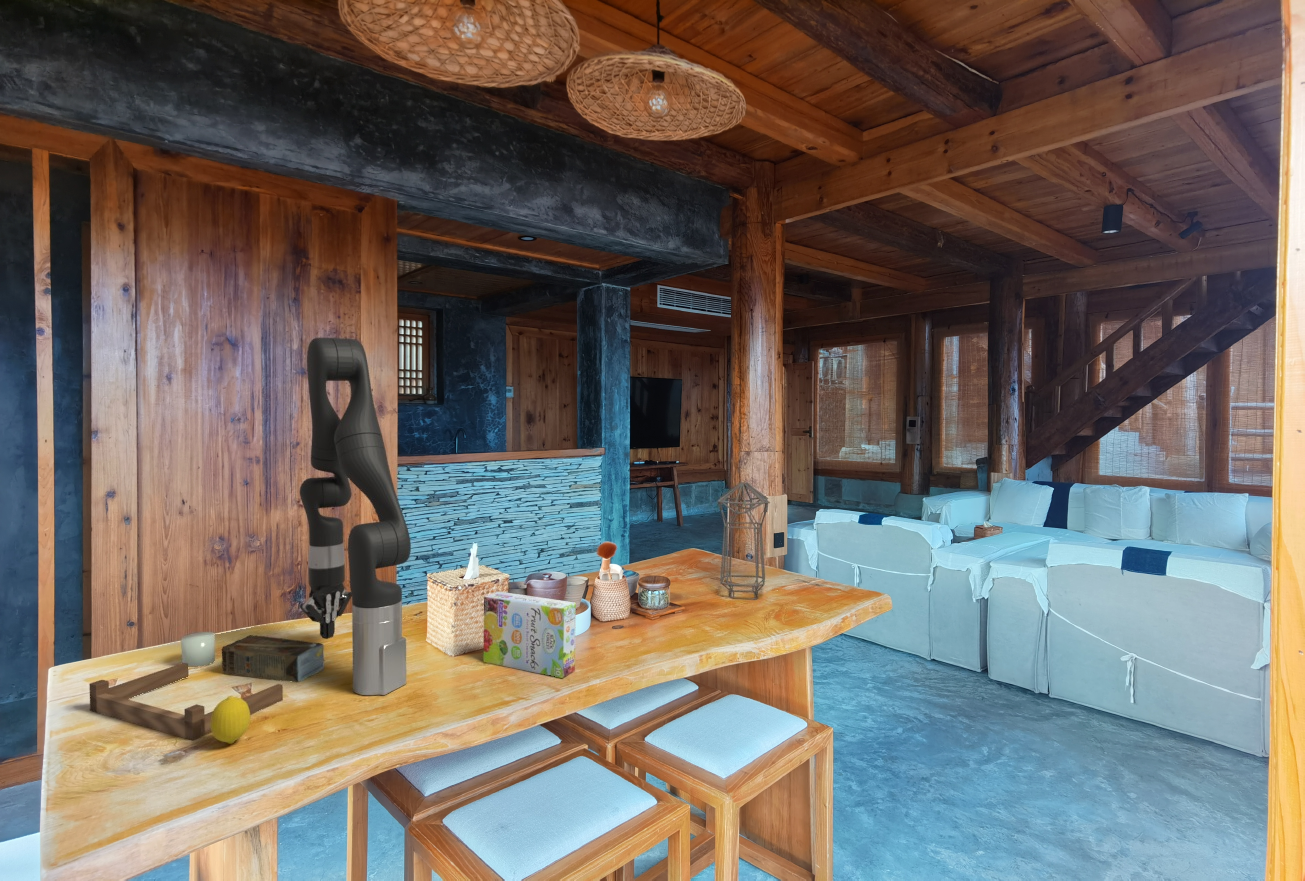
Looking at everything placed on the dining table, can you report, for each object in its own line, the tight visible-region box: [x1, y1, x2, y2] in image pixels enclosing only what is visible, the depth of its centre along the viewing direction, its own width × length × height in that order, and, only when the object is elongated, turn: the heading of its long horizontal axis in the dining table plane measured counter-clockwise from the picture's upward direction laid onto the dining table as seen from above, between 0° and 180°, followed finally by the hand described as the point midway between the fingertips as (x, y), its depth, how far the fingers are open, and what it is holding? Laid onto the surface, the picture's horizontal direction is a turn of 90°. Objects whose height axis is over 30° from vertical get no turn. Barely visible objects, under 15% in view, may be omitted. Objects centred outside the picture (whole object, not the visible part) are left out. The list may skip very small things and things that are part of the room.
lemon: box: [211, 695, 251, 745], centre depth 109 cm, size 6×6×8 cm
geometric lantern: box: [717, 481, 771, 600], centre depth 201 cm, size 16×16×35 cm
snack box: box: [482, 591, 577, 679], centre depth 143 cm, size 21×6×15 cm, turn 65°
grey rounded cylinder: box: [180, 631, 216, 667], centre depth 143 cm, size 6×6×6 cm
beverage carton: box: [221, 634, 325, 683], centre depth 139 cm, size 8×19×7 cm, turn 77°
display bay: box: [88, 662, 284, 741], centre depth 123 cm, size 28×17×5 cm, turn 68°
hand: (327, 637), depth 152 cm, fingers closed
